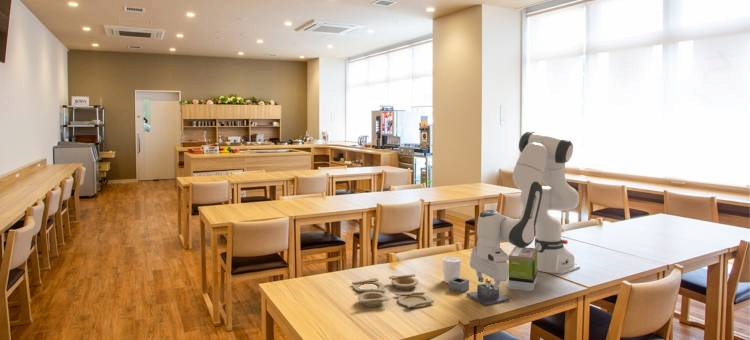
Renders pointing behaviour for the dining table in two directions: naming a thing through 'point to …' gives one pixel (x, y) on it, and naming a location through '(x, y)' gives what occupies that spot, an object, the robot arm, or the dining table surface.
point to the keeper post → (489, 301)
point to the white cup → (451, 268)
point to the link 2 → (487, 291)
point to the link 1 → (459, 285)
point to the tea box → (523, 268)
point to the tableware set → (406, 298)
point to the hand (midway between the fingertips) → (487, 285)
